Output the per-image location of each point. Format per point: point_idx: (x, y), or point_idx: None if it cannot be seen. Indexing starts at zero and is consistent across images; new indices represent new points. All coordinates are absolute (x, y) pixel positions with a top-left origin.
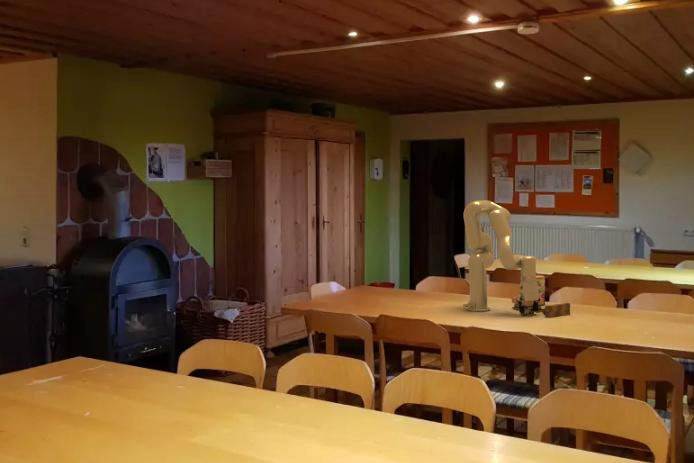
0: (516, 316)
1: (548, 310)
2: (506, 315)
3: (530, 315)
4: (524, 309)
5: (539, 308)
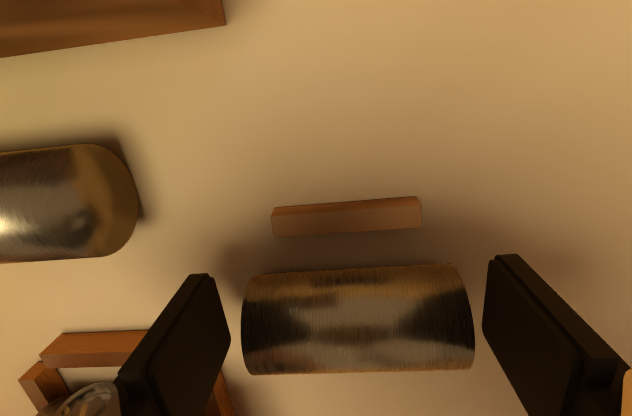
0: (547, 282)
1: None
2: None
3: (386, 202)
4: (435, 342)
5: None
